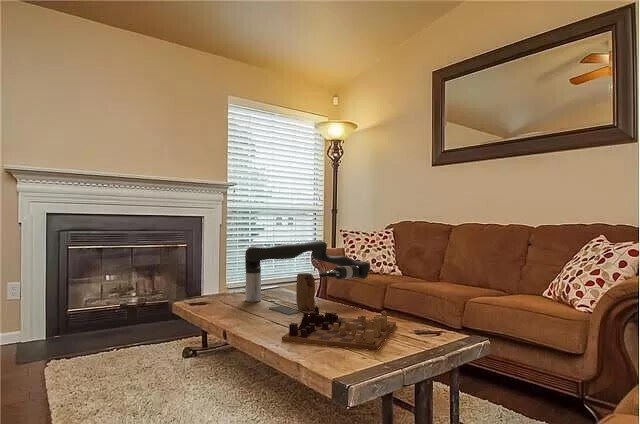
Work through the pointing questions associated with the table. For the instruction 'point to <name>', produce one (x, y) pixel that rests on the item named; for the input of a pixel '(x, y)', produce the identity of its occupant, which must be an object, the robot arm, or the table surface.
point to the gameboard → (340, 330)
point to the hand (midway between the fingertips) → (320, 275)
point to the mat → (284, 310)
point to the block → (305, 291)
